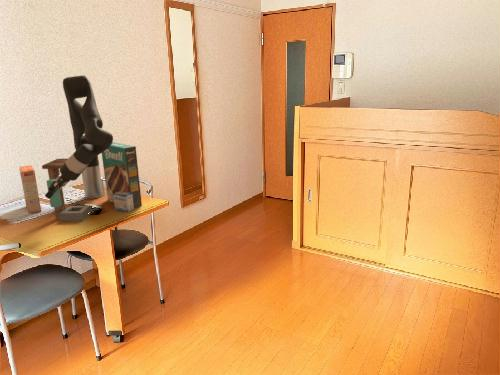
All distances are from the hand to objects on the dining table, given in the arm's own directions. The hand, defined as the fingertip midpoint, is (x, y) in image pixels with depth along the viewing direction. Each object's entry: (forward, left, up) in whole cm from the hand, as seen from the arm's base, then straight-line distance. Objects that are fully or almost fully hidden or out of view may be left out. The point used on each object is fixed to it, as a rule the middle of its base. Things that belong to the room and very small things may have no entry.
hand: (50, 195), depth 162 cm
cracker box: (-12, -36, -16) cm, 41 cm away
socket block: (-14, -6, -16) cm, 22 cm away
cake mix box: (-40, -3, -16) cm, 43 cm away
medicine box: (-32, +6, -16) cm, 37 cm away
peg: (-1, +2, -5) cm, 5 cm away
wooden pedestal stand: (-13, -8, -16) cm, 22 cm away
